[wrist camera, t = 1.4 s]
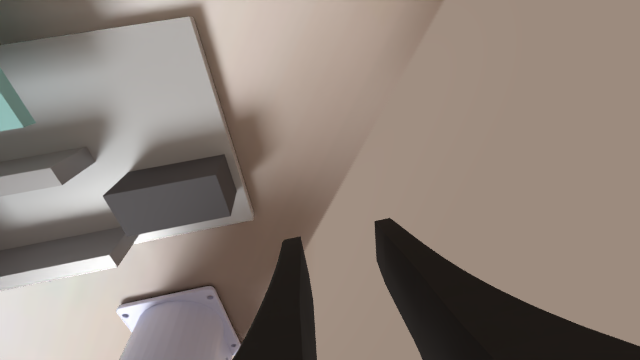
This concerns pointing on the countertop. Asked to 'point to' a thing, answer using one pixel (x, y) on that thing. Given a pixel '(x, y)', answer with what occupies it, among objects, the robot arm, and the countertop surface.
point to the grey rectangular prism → (173, 195)
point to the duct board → (101, 142)
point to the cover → (12, 107)
